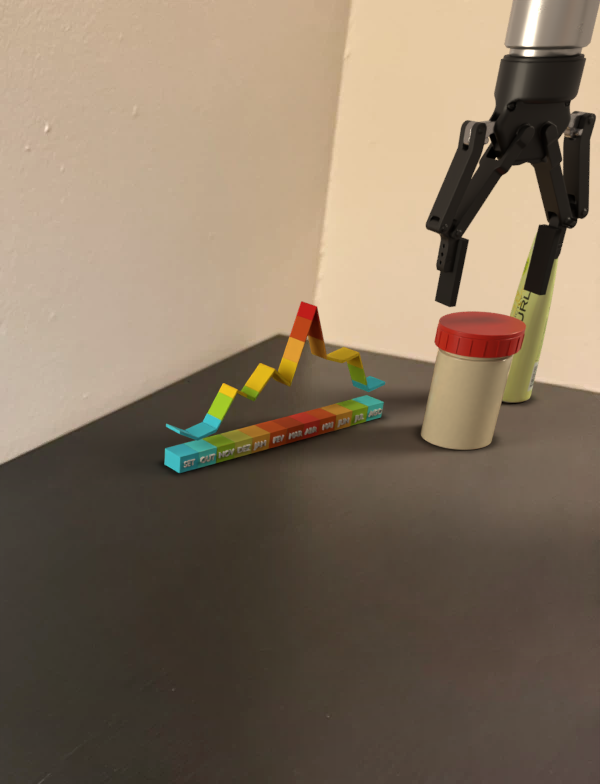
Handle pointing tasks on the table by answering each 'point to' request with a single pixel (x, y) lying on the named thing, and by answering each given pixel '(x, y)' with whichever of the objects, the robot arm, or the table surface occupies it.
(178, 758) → the table surface
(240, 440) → the chart
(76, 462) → the table surface
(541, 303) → the tube
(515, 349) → the lid
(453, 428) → the jar
